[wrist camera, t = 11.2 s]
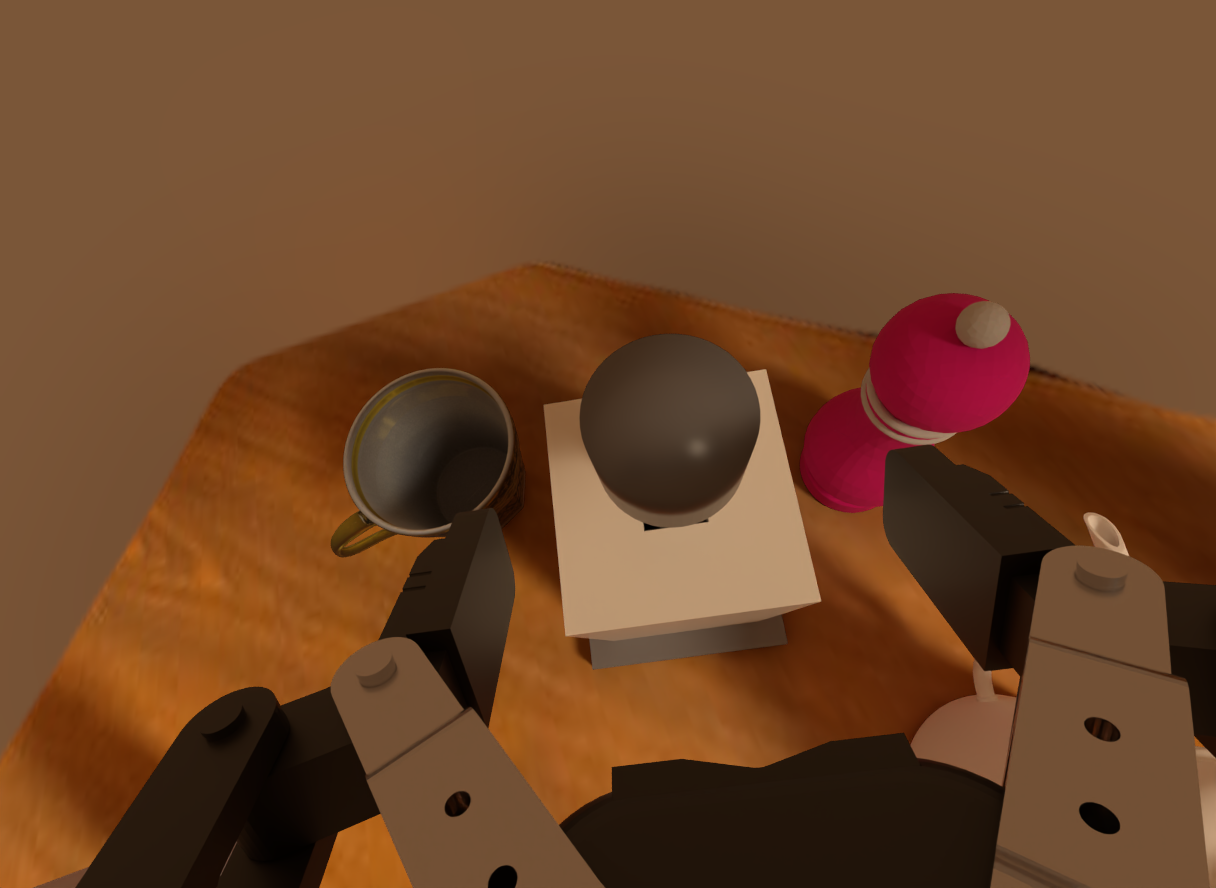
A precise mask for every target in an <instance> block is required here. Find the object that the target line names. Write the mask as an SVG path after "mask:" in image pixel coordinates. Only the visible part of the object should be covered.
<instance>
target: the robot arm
mask: <svg viewBox="0 0 1216 888" xmlns="http://www.w3.org/2000/svg"><path fill="white" fill-rule="evenodd" d="M883 524H884V529H885V533H886V536H887V539H888V541H889V543H890V545H891V547H892V548H893V550H894V551H895V552H896V554H897V555H898V556H899V558H900V559H901V560H902V562H903V563H904V564H905V566H906V567H907V568H908V570H909V571H910V572H911V574H912V575H913V577H914V578H915V579H916V581H917V582H918V583H919V585H920V586H921V587H922V589H923V590H924V591H925V593H926V594H927V595H928V597H929V598H930V599H931V601H932V602H933V603H934V605H935V606H936V607H937V609H938V610H939V611H940V613H941V614H942V615H943V617H944V618H945V619H946V621H947V622H948V623H949V625H950V626H951V627H952V629H953V630H954V632H955V633H956V634H957V636H958V637H959V638H960V640H961V641H962V642H963V644H964V645H965V646H966V648H967V649H968V650H969V652H970V653H971V654H972V656H973V657H974V658H975V660H976V661H977V662H978V664H979V665H980V666H981V668H982V669H983V670H984V671H992V670H1000V669H1009V668H1014V669H1015V671H1016V672H1017V673H1018V674H1019V676H1020V681H1019V686H1018V691H1017V697H1016V703H1015V709H1014V715H1013V721H1012V727H1011V733H1010V739H1009V745H1008V751H1007V757H1006V763H1005V769H1004V774H1003V780H1002V786H1000V785H999V784H997V783H995V782H993V781H991V780H989V779H987V778H984V777H982V776H980V775H977V774H975V773H973V772H970V771H968V770H965V769H962V768H959V767H956V766H953V765H950V764H946V763H942V762H938V761H933V760H929V759H923V758H917V757H916V755H915V754H914V752H913V750H912V748H911V746H910V744H909V742H908V740H907V738H906V736H905V735H904V733H898V734H890V735H881V736H873V737H864V738H856V739H847V740H839V741H830V742H828V743H825V744H823V745H820V746H817V747H815V748H812V749H810V750H807V751H804V752H802V753H799V754H797V755H794V756H792V757H789V758H786V759H784V760H781V761H779V762H776V763H774V764H771V765H768V766H765V767H760V768H751V767H743V766H735V765H726V764H718V763H710V762H702V761H694V760H686V759H677V760H669V761H660V762H652V763H643V764H635V765H626V766H618V767H612V792H610V793H608V794H605V795H603V796H600V797H599V798H597V799H595V800H593V801H591V802H589V803H587V804H585V805H584V806H583V807H581V808H580V809H578V810H577V811H575V812H574V813H573V814H571V815H570V816H569V817H568V818H566V819H565V820H564V821H563V822H562V823H561V824H560V825H558V824H557V822H556V821H555V820H554V818H553V817H552V816H551V814H550V813H549V811H548V810H547V809H546V807H545V806H544V805H543V803H542V802H541V800H540V799H539V798H538V796H537V795H536V794H535V792H534V791H533V790H532V788H531V787H530V785H529V784H528V783H527V781H526V780H525V779H524V777H523V776H522V774H521V773H520V772H519V770H518V769H517V768H516V766H515V765H514V764H513V762H512V761H511V759H510V758H509V757H508V755H507V754H506V753H505V751H504V750H503V749H502V747H501V746H500V744H499V743H498V742H497V740H496V739H495V738H494V736H493V735H492V733H491V732H490V731H489V729H488V727H489V722H490V717H491V712H492V707H493V702H494V697H495V692H496V687H497V682H498V677H499V672H500V667H501V662H502V657H503V652H504V647H505V642H506V637H507V632H508V627H509V622H510V617H511V613H512V608H513V603H514V597H515V580H514V572H513V568H512V564H511V561H510V557H509V554H508V550H507V547H506V543H505V540H504V537H503V533H502V530H501V526H500V523H499V519H498V516H497V514H496V512H495V510H494V509H493V508H487V509H480V510H473V511H467V512H460V513H457V514H456V515H455V517H454V519H453V521H452V524H451V526H450V529H449V531H448V533H447V536H446V538H444V539H438V540H434V541H433V542H432V543H431V544H430V545H429V546H428V547H427V548H426V549H425V550H424V551H423V552H422V553H421V554H420V555H419V556H418V557H417V559H416V561H415V563H414V565H413V567H412V569H411V572H410V574H409V575H410V577H409V578H407V580H406V582H405V585H404V587H403V592H401V593H400V595H399V597H398V600H397V602H396V604H395V606H394V608H393V610H392V612H391V615H390V617H389V619H388V621H387V623H386V625H385V627H384V630H383V632H382V634H381V636H380V638H379V640H378V641H376V642H373V643H371V644H369V645H367V646H365V647H363V648H361V649H360V650H358V651H356V652H355V653H354V654H353V655H351V656H350V657H349V658H348V659H347V660H346V661H345V662H344V663H343V664H342V665H341V666H340V667H339V669H338V670H337V672H336V673H335V675H334V677H333V679H332V683H331V687H328V688H326V689H324V690H321V691H318V692H316V693H313V694H311V695H308V696H305V697H303V698H300V699H297V700H295V701H292V702H289V703H287V704H284V705H281V706H280V704H279V702H278V700H277V699H276V697H275V695H274V694H273V692H272V691H271V690H269V689H267V688H263V687H249V688H244V689H240V690H237V691H234V692H232V693H229V694H227V695H225V696H223V697H221V698H219V699H217V700H216V701H214V702H213V703H211V704H209V705H208V706H207V707H205V708H204V709H203V710H201V711H200V712H199V713H198V714H197V715H195V716H194V717H193V718H192V719H191V720H190V721H189V722H188V723H187V724H186V726H185V727H184V728H183V729H182V731H181V732H180V733H179V735H178V736H177V738H176V739H175V741H174V742H173V744H172V745H171V747H170V748H169V750H168V751H167V753H166V754H165V756H164V757H163V759H162V760H161V762H160V763H159V764H158V766H157V767H156V769H155V770H154V772H153V773H152V775H151V776H150V778H149V779H148V781H147V782H146V784H145V785H144V787H143V788H142V790H141V791H140V793H139V794H138V796H137V797H136V798H135V800H134V801H133V803H132V804H131V806H130V807H129V809H128V810H127V812H126V813H125V815H124V816H123V818H122V819H121V821H120V822H119V824H118V825H117V827H116V828H115V830H114V831H113V832H112V834H111V835H110V837H109V838H108V840H107V841H106V843H105V844H104V846H103V847H102V849H101V850H100V852H99V853H98V855H97V856H96V858H95V859H94V861H93V862H92V864H91V865H90V866H89V868H88V869H87V871H86V872H85V874H84V875H83V877H82V878H81V880H80V881H79V883H78V884H77V886H76V887H75V888H319V887H320V884H321V881H322V878H323V875H324V872H325V869H326V866H327V863H328V860H329V857H330V854H331V851H332V848H333V845H334V842H335V840H336V837H337V834H338V832H339V831H342V830H344V829H346V828H349V827H351V826H353V825H356V824H358V823H360V822H362V821H365V820H367V819H369V818H372V817H374V816H376V815H378V814H381V815H382V817H383V820H384V822H385V824H386V826H387V829H388V831H389V833H390V836H391V838H392V840H393V843H394V845H395V847H396V850H397V852H398V854H399V856H400V859H401V861H402V863H403V866H404V868H405V870H406V873H407V875H408V877H409V879H410V882H411V884H412V886H413V888H1210V883H1209V874H1208V864H1207V855H1206V845H1205V836H1204V826H1203V817H1202V807H1201V798H1200V788H1199V779H1198V769H1197V760H1196V750H1195V741H1194V736H1195V737H1196V738H1197V739H1198V740H1199V741H1200V742H1201V743H1202V745H1203V746H1204V747H1205V748H1206V749H1207V750H1208V751H1209V752H1210V753H1211V754H1212V755H1213V756H1214V757H1215V758H1216V585H1204V584H1190V583H1176V582H1164V581H1162V580H1161V578H1160V577H1159V576H1158V575H1157V574H1156V573H1155V572H1154V571H1153V570H1152V569H1151V568H1149V567H1148V566H1146V565H1145V564H1143V563H1142V562H1140V561H1138V560H1136V559H1134V558H1132V557H1129V556H1127V555H1124V554H1122V553H1119V552H1115V551H1112V550H1108V549H1104V548H1098V547H1092V546H1076V545H1074V544H1073V543H1072V542H1071V541H1070V540H1068V539H1067V538H1066V537H1065V536H1063V535H1062V534H1061V533H1060V532H1059V531H1057V530H1056V529H1055V528H1054V527H1052V526H1051V525H1050V524H1049V523H1047V522H1046V521H1045V520H1044V519H1043V518H1041V517H1040V516H1039V515H1038V514H1036V513H1035V512H1034V511H1033V510H1032V509H1030V508H1029V507H1028V506H1026V507H1025V506H1024V503H1023V502H1022V501H1021V500H1019V499H1018V498H1017V497H1016V496H1014V495H1013V494H1009V492H1008V490H1007V489H1006V488H1005V487H1003V486H1002V485H1001V484H1000V483H998V482H997V481H996V480H995V479H994V478H992V477H991V476H990V475H987V474H985V473H983V472H980V471H978V470H976V469H973V468H971V467H968V466H966V465H964V464H962V465H955V464H954V463H953V462H952V461H950V460H949V459H948V458H947V457H946V456H945V455H943V454H942V453H941V452H940V451H939V450H938V449H937V448H935V447H934V446H933V445H930V444H927V445H920V446H914V447H907V448H900V449H893V450H890V451H889V452H888V453H887V455H886V459H885V477H884V500H883ZM236 842H237V843H236ZM235 843H236V845H235ZM234 846H235V847H234ZM233 848H234V849H233ZM232 850H233V851H232ZM231 852H232V853H231ZM230 854H231V855H230ZM229 856H230V857H229ZM228 858H229V859H228ZM227 860H228V861H227ZM226 862H227V863H226ZM225 864H226V865H225ZM224 866H225V867H224ZM223 868H224V870H223ZM222 871H223V872H222ZM221 873H222V874H221ZM220 875H221V876H220Z"/></svg>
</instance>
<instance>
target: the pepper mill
mask: <svg viewBox="0 0 1216 888" xmlns="http://www.w3.org/2000/svg"><path fill="white" fill-rule="evenodd" d="M869 366H870V368H869V369H868V370H867V372H866V374H865V376H864V378H863V381H862V385H861V388H856V389H852V390H849V391H846V392H844V393H842V394H840V395H838V396H835V397H834V398H832V399H831V400H830V401H828V402H827V403H826V404H824V405H823V406H822V407H821V409H820V410H819V411H818V412H817V413H816V414H815V416H814V417H813V418H812V420H811V421H810V423H809V425H808V428H807V431H806V434H805V439H804V448H803V450H802V453H801V457H800V472H801V476H802V479H803V482H804V484H805V486H806V487H807V489H808V490H809V492H810V493H811V494H812V495H813V496H814V497H815V498H816V499H817V500H818V501H819V502H821V503H822V504H824V505H825V506H827V507H829V508H832V509H834V510H838V511H842V512H850V513H855V512H863V511H867V510H870V509H872V508H874V507H877V506H883V500H884V477H885V459H886V455H887V453H888V452H889V451H890V450H893V449H900V448H907V447H914V446H920V445H927V444H930V445H933V446H934V444H935V443H939V442H942V441H944V440H946V439H948V438H950V437H952V436H953V435H954V434H956V433H957V432H963V431H970V430H972V429H975V428H978V427H980V426H983V425H985V424H987V423H989V422H990V421H992V420H994V419H995V418H997V417H999V416H1000V415H1001V414H1002V413H1003V412H1004V411H1006V410H1007V409H1008V408H1009V407H1010V405H1011V404H1012V403H1013V402H1014V401H1015V400H1016V399H1017V397H1018V396H1019V394H1020V392H1021V391H1022V389H1023V387H1024V385H1025V383H1026V380H1027V376H1028V372H1029V368H1030V354H1029V348H1028V342H1027V340H1026V337H1025V335H1024V333H1023V331H1022V329H1021V327H1020V326H1019V324H1018V323H1017V321H1016V320H1015V319H1014V318H1013V317H1012V316H1011V315H1010V314H1009V313H1008V312H1007V310H1006V309H1005V308H1003V307H1002V306H1001V305H1000V304H998V303H995V302H992V301H989V300H986V299H983V298H981V297H978V296H973V295H968V294H958V293H949V294H939V295H935V296H931V297H927V298H923V299H919V300H918V301H916V302H914V303H912V304H910V305H909V306H907V307H905V308H903V309H901V310H900V311H899V312H898V313H897V314H896V315H895V316H893V317H892V319H890V321H889V322H888V323H887V324H886V325H885V326H884V327H883V329H882V330H881V331H880V333H879V335H878V337H877V338H876V340H875V342H874V345H873V348H872V353H871V358H870V363H869Z"/></svg>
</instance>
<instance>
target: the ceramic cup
mask: <svg viewBox="0 0 1216 888" xmlns="http://www.w3.org/2000/svg"><path fill="white" fill-rule="evenodd" d="M343 471H344V478H345V482H346V486H347V489H348V491H349V494H350V496H351V498H352V500H353V501H354V503H355V505H356V506H357V507H358V509H359V510H360V511H358V512H356V513H355V514H353V515H352V516H350V517H349V518H348V519H346V520H345V521H344V522H343V523H342V524H341V525H340V526H339V527H338V529H337V530H336V531H335V533H334V534H333V536H332V539H331V548H332V550H333V552H334V553H335V554H336V555H337V556H339V557H349V556H353V555H355V554H358V553H360V552H362V551H364V550H366V549H368V548H370V547H371V546H373V545H375V544H377V543H379V542H381V541H383V540H385V539H387V538H389V537H392V536H394V535H397V534H400V535H406V536H413V537H446V536H447V533H448V531H449V529H450V526H451V524H452V521H453V519H454V517H455V515H456V514H457V513H460V512H467V511H473V510H480V509H487V508H493V509H494V510H495V512H496V514H497V516H498V519H499V523H500V526H501V528H503V527H504V526H505V525H506V524H507V523H508V522H509V521H510V520H511V519H512V518H513V517H514V516H515V515H516V514H517V513H518V512H519V511H520V510H521V509H522V508H523V505H524V488H525V469H524V464H523V461H522V457H521V452H520V448H519V440H518V435H517V432H516V428H515V425H514V422H513V419H512V417H511V415H510V413H509V410H508V408H507V406H506V404H505V403H504V401H503V400H502V398H501V397H500V395H499V394H498V393H497V392H496V391H495V390H494V389H493V388H492V387H491V386H490V385H489V384H487V383H486V382H485V381H483V380H482V379H480V378H478V377H476V376H474V375H472V374H470V373H467V372H464V371H460V370H456V369H449V368H431V369H425V370H419V371H416V372H413V373H409V374H407V375H404V376H402V377H400V378H398V379H396V380H394V381H392V382H391V383H389V384H388V385H386V386H385V387H383V388H382V389H381V390H380V391H378V392H377V393H376V394H375V395H374V396H373V397H372V398H371V399H370V400H369V401H368V402H367V403H366V404H365V406H364V407H363V408H362V410H361V411H360V413H359V414H358V415H357V417H356V419H355V421H354V422H353V424H352V427H351V429H350V431H349V434H348V437H347V440H346V444H345V449H344V456H343ZM376 525H378V526H379V527H381V528H383V530H381V531H379V532H377V533H374V534H373V535H371V536H369V537H367V538H365V539H363V540H361V541H359V542H357V543H355V544H353V545H350V546H348V547H344V546H346V545H347V544H348V543H349V542H351V541H352V540H353V539H355V538H356V537H358V536H359V535H361V534H362V533H364V532H365V531H367V530H368V529H370V528H372V527H374V526H376Z"/></svg>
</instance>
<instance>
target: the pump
mask: <svg viewBox="0 0 1216 888" xmlns="http://www.w3.org/2000/svg"><path fill="white" fill-rule="evenodd" d="M579 419H580V431H581V436H582V440H583V443H584V446H585V449H586V451H587V453H588V455H589V458H590V460H591V462H592V464H593V466H594V468H595V471H596V473H597V475H598V477H599V479H600V481H601V484H602V486H603V488H604V490H605V492H606V493H607V494H608V496H609V497H610V499H611V500H612V501H613V502H614V503H615V504H616V506H617V507H619V508H620V509H621V510H622V511H623V512H624V513H626V514H628V515H629V516H631V517H632V518H634V519H636V520H638V521H640V522H643V523H646V524H649V525H652V526H658V527H660V529H663V528H675V527H684V526H689V525H693V524H696V523H699V522H702V521H704V520H706V519H708V518H709V517H711V516H713V515H714V514H716V513H717V512H719V511H720V510H721V509H722V508H723V507H724V506H725V505H726V504H727V503H728V502H729V501H730V500H731V498H732V497H733V496H734V494H735V492H736V491H737V489H738V487H739V485H740V483H741V481H742V478H743V476H744V473H745V470H746V468H747V465H748V463H749V460H750V458H751V455H752V452H753V450H754V447H755V445H756V441H757V438H758V434H759V429H760V405H759V399H758V396H757V392H756V389H755V387H754V385H753V383H752V380H751V378H750V377H749V375H748V374H747V372H746V371H745V369H744V368H743V367H742V366H741V365H740V363H739V362H738V361H737V360H736V359H735V358H734V357H732V356H731V355H730V354H729V353H728V352H726V351H725V350H723V349H722V348H720V347H719V346H717V345H715V344H713V343H711V342H709V341H706V340H704V339H701V338H697V337H693V336H689V335H682V334H660V335H653V336H648V337H644V338H641V339H638V340H635V341H633V342H631V343H629V344H627V345H625V346H623V347H621V348H620V349H618V350H617V351H615V352H614V353H612V354H611V355H610V356H609V357H608V358H606V359H605V360H604V361H603V362H602V364H601V365H600V366H599V367H598V368H597V369H596V371H595V372H594V374H593V375H592V376H591V378H590V380H589V382H588V384H587V386H586V388H585V391H584V394H583V397H582V401H581V405H580V415H579Z"/></svg>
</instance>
